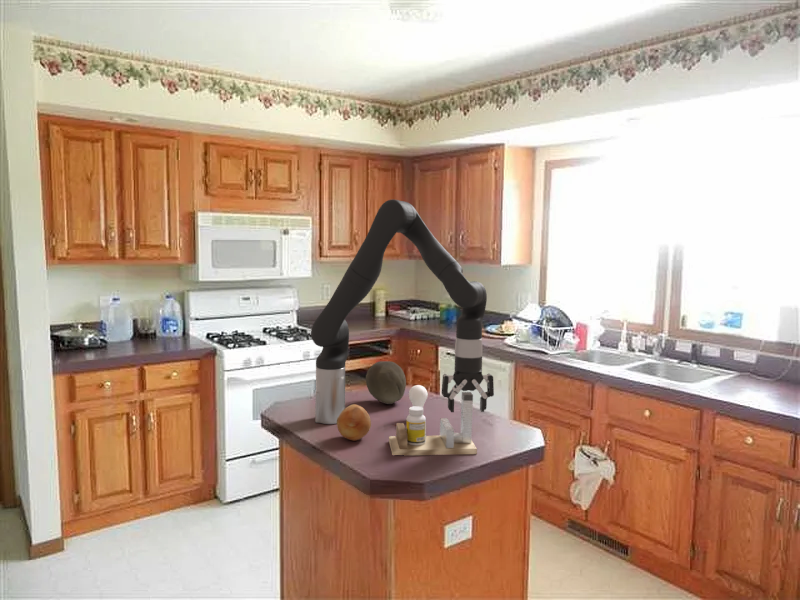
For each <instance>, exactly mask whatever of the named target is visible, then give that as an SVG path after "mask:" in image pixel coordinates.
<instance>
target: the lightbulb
mask: <svg viewBox="0 0 800 600" xmlns="http://www.w3.org/2000/svg"><path fill="white" fill-rule="evenodd" d="M428 396H429V395H428V391H427V389H426V387H425V386H423V385H420V384H417V385H413V386H412V387H410V389H409V391H408V398H409V401H410V403H411V405H412V407H413V406H419V407H422V408H423V409H424V405H425V403H426V401H427V400H428Z"/></svg>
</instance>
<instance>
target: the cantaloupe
mask: <svg viewBox="0 0 800 600" xmlns="http://www.w3.org/2000/svg"><path fill="white" fill-rule="evenodd" d="M406 379H407V378H406V375H405V372H404V370H403V368H402V367H401V366H399V365H398V364H397V363H396V362H393V361H389V360H386V361H381V360H380V361H377V362H375V363H373V364H372V365H371V366H370V367H369V369H368V370H367V372H366V374H365V384H366V387H367V390H368V392H369V394H370V395H371V396H372V397H373V398H374V399H376V400H377V401H378V402H381V403H383V404H386V405H392V404H394V403H397V402H399V401H400V400H401V399H403V397H404V395H405V391H406V387H407V380H406Z"/></svg>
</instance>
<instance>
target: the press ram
mask: <svg viewBox="0 0 800 600" xmlns="http://www.w3.org/2000/svg"><path fill="white" fill-rule="evenodd" d="M473 401H474V394H472V391H461V405H460V406H461V407H460V410H461V411H460V414H461V415H460V432H455V429H454V427H453V425H452V424H451V422H450V421H449V419H448V418H445V417H444V418H443V417H442V418H440V419H439V420H440V421H439V435H440V437H441V439H442V441H443V443H444V445H445V447H446V448H453V446H454V443H471V440H472V436H473V435H472V434H473V433H472V432H473V410H474V409H473V405H474V404H473ZM472 441H473V440H472Z"/></svg>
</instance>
